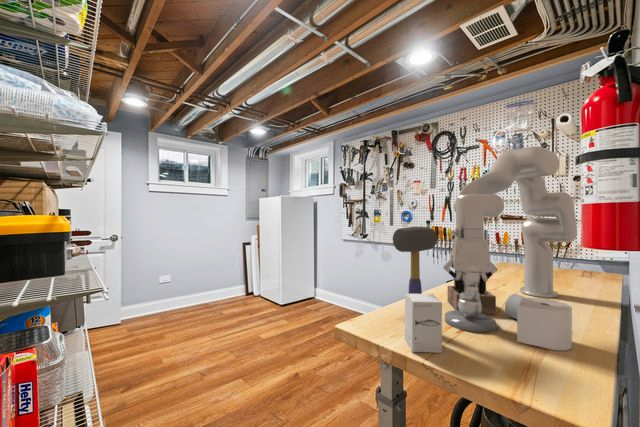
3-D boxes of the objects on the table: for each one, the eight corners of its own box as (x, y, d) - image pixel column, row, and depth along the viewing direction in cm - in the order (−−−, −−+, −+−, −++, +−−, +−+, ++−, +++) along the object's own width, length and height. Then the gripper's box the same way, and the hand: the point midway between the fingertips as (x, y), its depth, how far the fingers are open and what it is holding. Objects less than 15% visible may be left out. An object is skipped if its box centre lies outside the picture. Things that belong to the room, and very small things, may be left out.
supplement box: (411, 353, 67) (411, 301, 67) (404, 339, 75) (404, 292, 75) (442, 354, 67) (442, 301, 67) (432, 340, 74) (432, 292, 74)
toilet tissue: (574, 341, 73) (574, 303, 73) (568, 358, 65) (568, 315, 65) (525, 329, 81) (525, 295, 81) (514, 342, 73) (514, 304, 73)
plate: (440, 313, 94) (439, 309, 94) (485, 316, 91) (485, 311, 91) (451, 330, 80) (451, 325, 80) (505, 334, 77) (505, 329, 77)
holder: (447, 301, 106) (447, 285, 106) (481, 303, 104) (481, 287, 104) (457, 312, 95) (457, 294, 94) (495, 314, 92) (495, 296, 92)
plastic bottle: (462, 318, 83) (462, 251, 83) (455, 310, 89) (455, 248, 89) (485, 319, 82) (485, 252, 82) (476, 311, 88) (476, 249, 88)
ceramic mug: (530, 328, 82) (531, 302, 82) (504, 318, 89) (504, 294, 89) (554, 324, 85) (554, 298, 85) (526, 314, 93) (527, 291, 93)
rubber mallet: (409, 336, 76) (409, 227, 76) (390, 326, 83) (390, 226, 83) (439, 327, 82) (439, 226, 82) (419, 318, 89) (419, 225, 89)
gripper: (443, 235, 83) (443, 295, 83) (506, 235, 80) (506, 297, 80) (437, 233, 91) (437, 288, 91) (494, 233, 88) (495, 290, 88)
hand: (469, 292), depth 86 cm, fingers closed on plastic bottle, 5 cm apart
